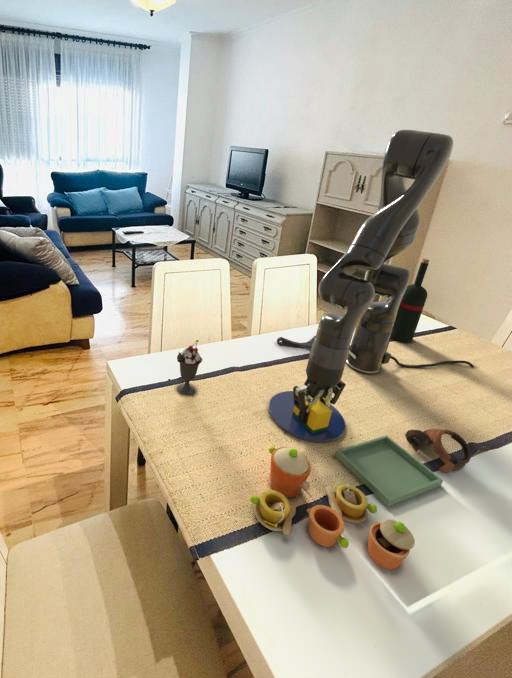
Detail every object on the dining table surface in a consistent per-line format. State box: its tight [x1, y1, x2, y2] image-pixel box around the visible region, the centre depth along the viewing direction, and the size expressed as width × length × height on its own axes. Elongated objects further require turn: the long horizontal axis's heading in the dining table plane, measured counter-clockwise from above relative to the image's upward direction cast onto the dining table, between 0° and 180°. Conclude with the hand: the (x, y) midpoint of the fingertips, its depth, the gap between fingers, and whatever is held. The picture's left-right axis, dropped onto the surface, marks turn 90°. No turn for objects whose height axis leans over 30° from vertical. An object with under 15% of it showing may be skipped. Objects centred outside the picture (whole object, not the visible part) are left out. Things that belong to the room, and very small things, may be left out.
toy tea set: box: [250, 446, 416, 571], centre depth 70 cm, size 26×16×10 cm, turn 67°
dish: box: [334, 434, 444, 508], centre depth 82 cm, size 15×13×2 cm
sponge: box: [293, 396, 332, 433], centre depth 92 cm, size 4×7×6 cm, turn 21°
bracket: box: [276, 335, 316, 352], centre depth 129 cm, size 14×15×3 cm
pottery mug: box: [404, 427, 472, 473], centre depth 86 cm, size 12×10×8 cm
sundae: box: [176, 339, 203, 397], centre depth 102 cm, size 7×7×15 cm
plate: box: [268, 390, 346, 444], centre depth 96 cm, size 18×18×1 cm
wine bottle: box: [389, 258, 430, 344], centre depth 135 cm, size 8×10×30 cm
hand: (310, 419), depth 93 cm, fingers closed on sponge, 4 cm apart
